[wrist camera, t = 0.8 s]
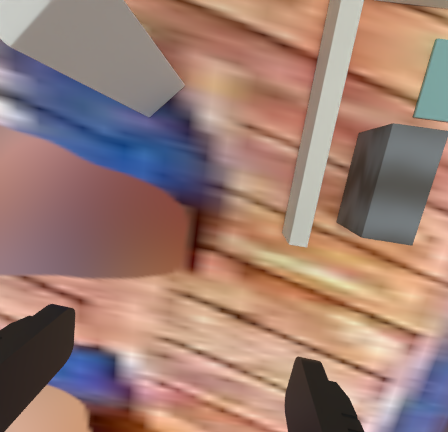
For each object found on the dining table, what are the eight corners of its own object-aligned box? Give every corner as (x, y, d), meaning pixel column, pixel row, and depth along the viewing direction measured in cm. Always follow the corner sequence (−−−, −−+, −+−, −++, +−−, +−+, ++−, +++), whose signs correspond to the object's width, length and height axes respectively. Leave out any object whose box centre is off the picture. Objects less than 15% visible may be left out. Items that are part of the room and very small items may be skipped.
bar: (358, 133, 29) (393, 123, 22) (401, 139, 29) (449, 131, 22) (336, 221, 32) (361, 237, 25) (375, 228, 31) (412, 245, 25)
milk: (186, 85, 30) (38, -124, 8) (149, 118, 31) (-68, 11, 9) (153, 42, 29) (-103, -316, 7) (116, 77, 30) (-199, -144, 8)
